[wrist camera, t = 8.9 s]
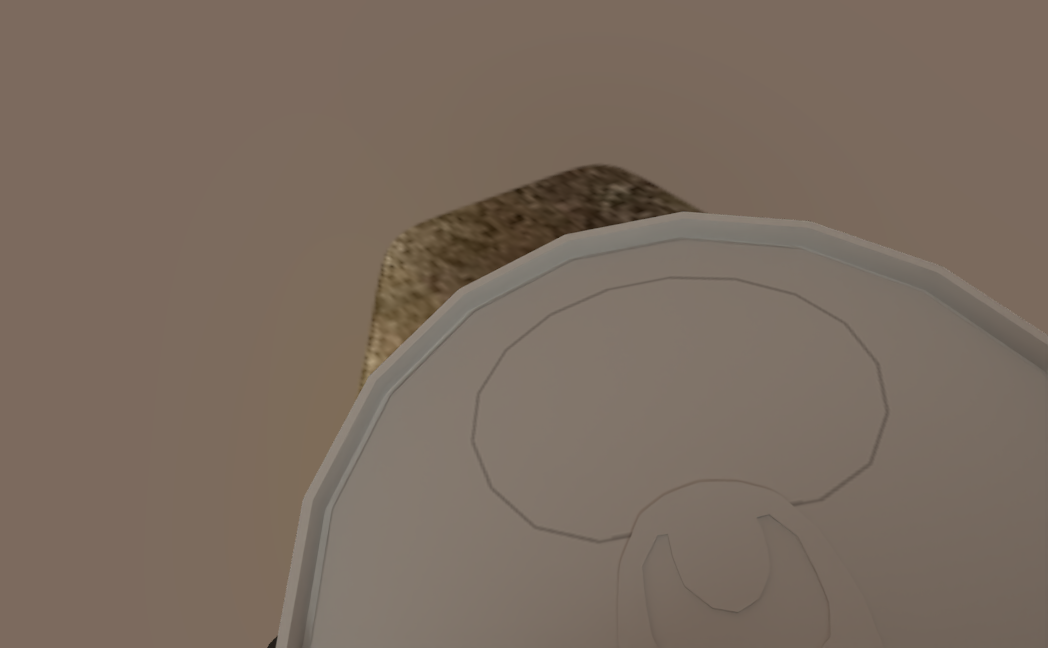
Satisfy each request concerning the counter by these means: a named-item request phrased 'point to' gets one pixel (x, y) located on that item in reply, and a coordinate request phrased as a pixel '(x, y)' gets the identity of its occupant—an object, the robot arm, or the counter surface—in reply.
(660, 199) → the counter surface
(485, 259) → the counter surface
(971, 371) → the supplement can
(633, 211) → the counter surface
